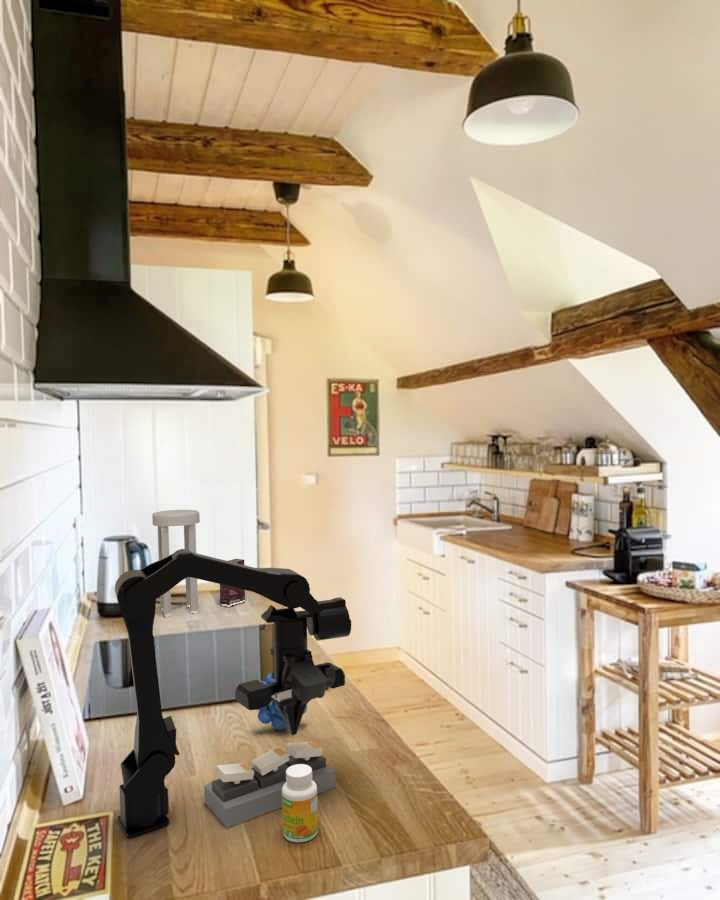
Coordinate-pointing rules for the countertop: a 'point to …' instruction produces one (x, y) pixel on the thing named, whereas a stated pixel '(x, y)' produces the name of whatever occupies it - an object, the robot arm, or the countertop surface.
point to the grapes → (272, 711)
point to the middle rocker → (270, 761)
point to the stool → (188, 521)
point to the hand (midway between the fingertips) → (292, 734)
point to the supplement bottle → (299, 804)
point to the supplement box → (231, 590)
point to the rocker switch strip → (261, 791)
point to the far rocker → (303, 750)
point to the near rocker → (234, 772)
